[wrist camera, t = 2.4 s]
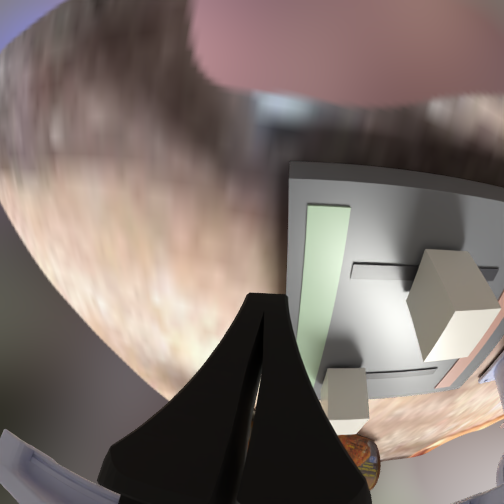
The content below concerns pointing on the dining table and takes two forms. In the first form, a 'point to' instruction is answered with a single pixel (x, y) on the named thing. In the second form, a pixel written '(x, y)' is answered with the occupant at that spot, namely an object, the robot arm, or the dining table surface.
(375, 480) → the tin
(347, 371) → the handle
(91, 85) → the dining table surface
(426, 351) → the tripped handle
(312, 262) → the grey board
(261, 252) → the dining table surface
